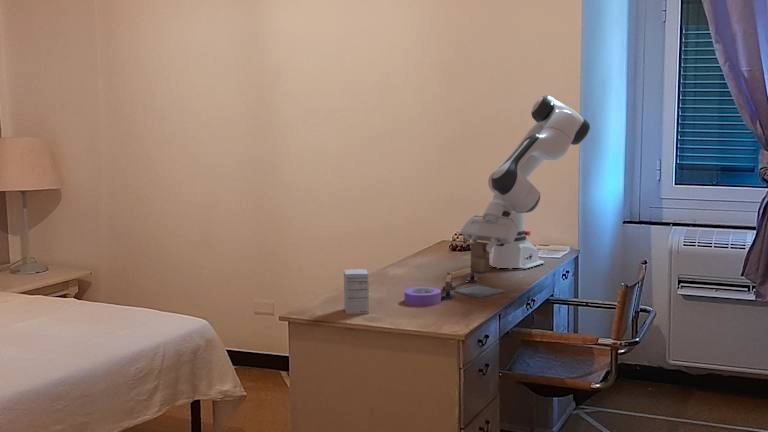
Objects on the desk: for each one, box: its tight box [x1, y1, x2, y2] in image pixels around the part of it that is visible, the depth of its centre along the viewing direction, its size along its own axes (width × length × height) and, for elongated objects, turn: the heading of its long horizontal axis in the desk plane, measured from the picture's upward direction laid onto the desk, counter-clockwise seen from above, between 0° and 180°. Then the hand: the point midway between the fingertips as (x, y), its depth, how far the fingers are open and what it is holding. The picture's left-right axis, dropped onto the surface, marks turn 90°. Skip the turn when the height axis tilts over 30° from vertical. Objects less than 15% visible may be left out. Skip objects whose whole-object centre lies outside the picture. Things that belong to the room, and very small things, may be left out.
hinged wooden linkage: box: [441, 265, 479, 300], centre depth 310 cm, size 32×8×6 cm, turn 158°
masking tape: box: [403, 286, 442, 307], centre depth 292 cm, size 12×12×4 cm
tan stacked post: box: [470, 241, 490, 275], centre depth 303 cm, size 4×4×10 cm
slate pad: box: [453, 285, 505, 299], centre depth 305 cm, size 12×12×1 cm
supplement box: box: [343, 268, 370, 315], centre depth 279 cm, size 7×7×13 cm
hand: (479, 249), depth 302 cm, fingers closed on tan stacked post, 4 cm apart
